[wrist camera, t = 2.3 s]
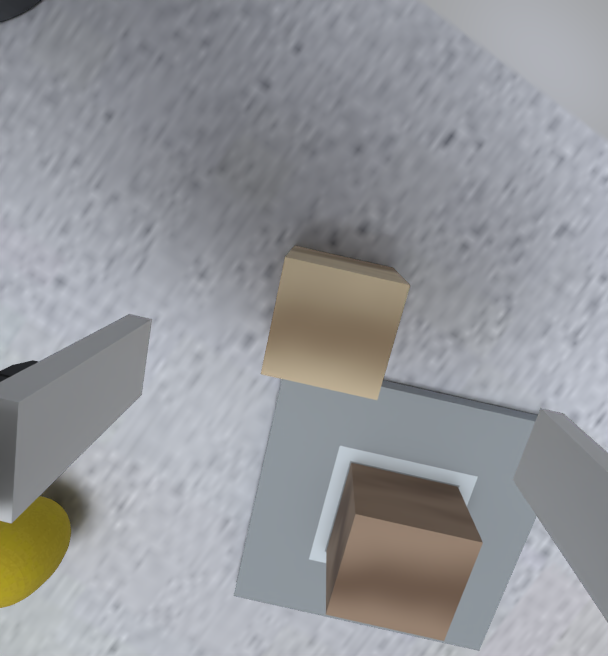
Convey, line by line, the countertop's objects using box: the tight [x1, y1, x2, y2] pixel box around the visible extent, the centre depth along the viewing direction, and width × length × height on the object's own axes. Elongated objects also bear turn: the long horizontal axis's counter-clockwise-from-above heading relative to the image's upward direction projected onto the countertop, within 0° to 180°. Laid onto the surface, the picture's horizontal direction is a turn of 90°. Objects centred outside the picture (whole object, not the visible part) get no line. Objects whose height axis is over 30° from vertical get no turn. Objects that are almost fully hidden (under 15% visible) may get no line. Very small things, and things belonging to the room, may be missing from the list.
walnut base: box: [326, 463, 483, 641], centre depth 28 cm, size 7×7×5 cm
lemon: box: [0, 496, 71, 608], centre depth 29 cm, size 6×6×8 cm
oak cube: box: [261, 245, 410, 400], centre depth 25 cm, size 6×6×6 cm
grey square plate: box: [234, 379, 538, 651], centre depth 31 cm, size 18×18×1 cm
